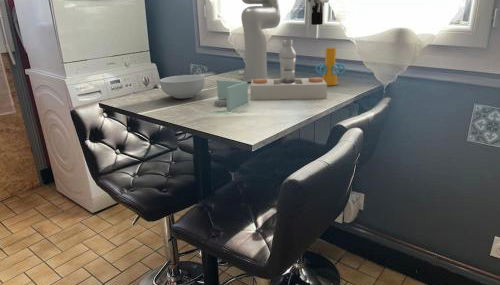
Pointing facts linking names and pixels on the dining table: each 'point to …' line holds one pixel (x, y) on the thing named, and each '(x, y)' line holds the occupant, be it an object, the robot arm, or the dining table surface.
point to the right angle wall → (231, 94)
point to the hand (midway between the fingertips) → (316, 24)
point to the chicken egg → (259, 81)
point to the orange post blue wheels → (330, 67)
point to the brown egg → (315, 79)
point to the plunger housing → (288, 90)
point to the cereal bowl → (182, 85)
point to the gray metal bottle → (287, 63)
